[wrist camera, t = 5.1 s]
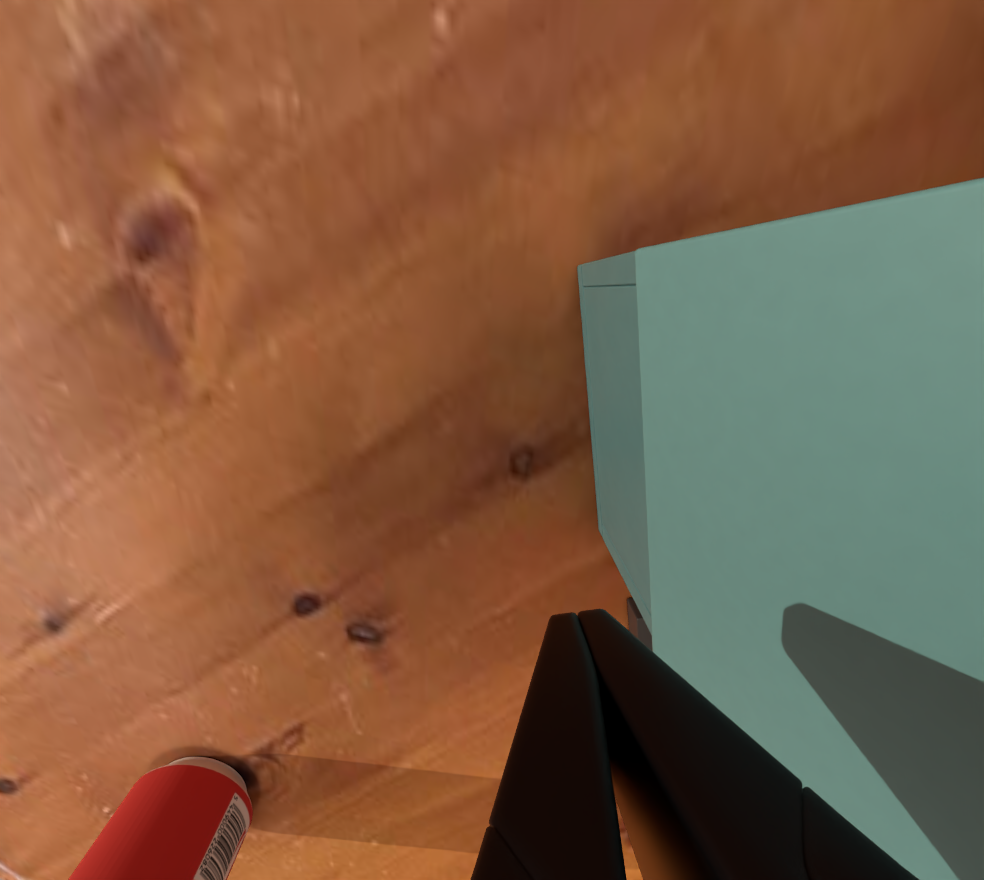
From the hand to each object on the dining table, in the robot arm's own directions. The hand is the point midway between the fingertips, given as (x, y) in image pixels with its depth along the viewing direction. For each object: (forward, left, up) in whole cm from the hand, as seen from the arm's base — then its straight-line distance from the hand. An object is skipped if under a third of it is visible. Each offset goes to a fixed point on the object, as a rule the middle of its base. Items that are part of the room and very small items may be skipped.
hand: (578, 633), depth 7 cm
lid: (-6, 0, +1) cm, 6 cm away
